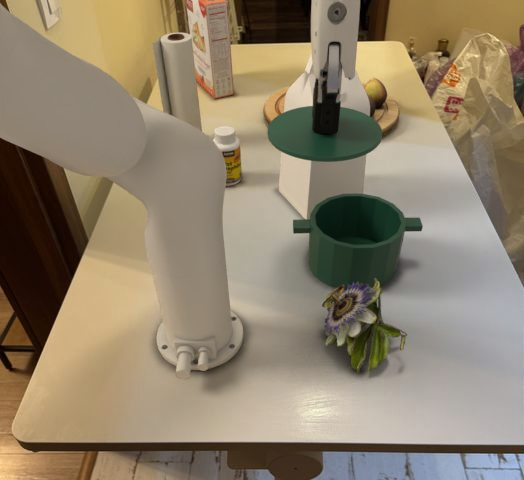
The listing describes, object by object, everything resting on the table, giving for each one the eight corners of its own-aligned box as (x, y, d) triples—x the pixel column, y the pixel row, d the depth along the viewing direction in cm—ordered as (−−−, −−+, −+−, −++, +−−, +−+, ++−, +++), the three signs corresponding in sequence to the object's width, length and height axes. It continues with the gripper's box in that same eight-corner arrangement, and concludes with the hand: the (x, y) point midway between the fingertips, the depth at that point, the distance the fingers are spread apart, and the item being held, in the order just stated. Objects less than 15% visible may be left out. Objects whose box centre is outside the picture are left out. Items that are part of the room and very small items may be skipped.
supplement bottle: (223, 190, 102) (219, 140, 95) (209, 178, 106) (204, 128, 98) (247, 181, 104) (244, 131, 97) (233, 169, 108) (229, 121, 100)
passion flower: (329, 360, 79) (318, 283, 77) (401, 350, 78) (392, 271, 75) (329, 382, 69) (316, 293, 66) (413, 371, 67) (403, 280, 64)
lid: (388, 166, 66) (398, 108, 61) (266, 166, 66) (266, 110, 61) (373, 113, 77) (380, 60, 71) (268, 113, 77) (267, 61, 72)
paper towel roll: (204, 136, 118) (193, 30, 102) (201, 149, 114) (189, 41, 98) (173, 136, 118) (156, 31, 102) (169, 149, 114) (151, 42, 98)
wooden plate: (269, 87, 135) (269, 53, 129) (393, 89, 132) (398, 54, 126) (257, 147, 114) (255, 109, 108) (404, 150, 111) (411, 111, 105)
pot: (420, 290, 82) (432, 246, 75) (293, 292, 82) (295, 248, 76) (404, 235, 91) (413, 192, 85) (290, 237, 92) (291, 194, 85)
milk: (331, 175, 105) (343, 32, 86) (362, 203, 98) (383, 54, 79) (278, 190, 102) (278, 44, 83) (306, 220, 95) (314, 69, 76)
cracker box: (194, 80, 139) (183, -12, 124) (214, 76, 141) (206, -16, 125) (212, 100, 131) (203, 3, 115) (234, 95, 132) (228, -1, 117)
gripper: (381, -22, 51) (358, 155, 65) (362, -58, 62) (346, 99, 76) (305, -21, 51) (298, 155, 65) (300, -57, 62) (295, 100, 76)
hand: (324, 124), depth 70 cm, fingers closed on lid, 3 cm apart
